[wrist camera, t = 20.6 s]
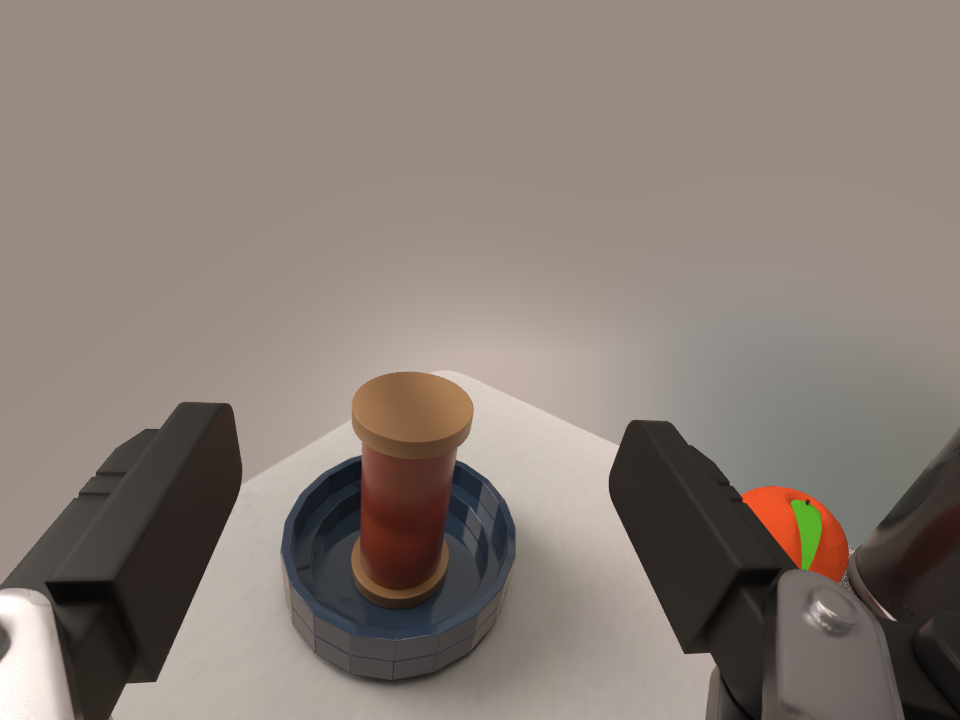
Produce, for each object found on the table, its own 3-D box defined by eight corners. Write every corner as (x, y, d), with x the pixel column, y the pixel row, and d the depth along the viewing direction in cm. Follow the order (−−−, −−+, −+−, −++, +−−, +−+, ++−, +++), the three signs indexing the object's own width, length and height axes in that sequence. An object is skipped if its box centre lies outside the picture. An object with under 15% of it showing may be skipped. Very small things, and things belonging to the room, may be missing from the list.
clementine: (828, 660, 27) (898, 585, 23) (705, 603, 29) (753, 527, 26) (806, 559, 33) (858, 489, 30) (706, 519, 36) (745, 449, 32)
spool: (422, 513, 31) (439, 364, 26) (464, 583, 27) (496, 423, 22) (338, 545, 28) (335, 383, 23) (371, 628, 24) (379, 456, 18)
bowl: (443, 470, 36) (449, 431, 34) (546, 613, 27) (561, 570, 25) (266, 527, 29) (260, 481, 27) (323, 743, 20) (320, 697, 18)
